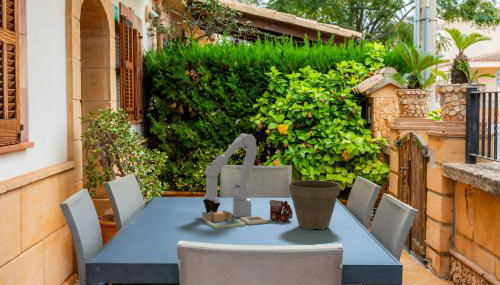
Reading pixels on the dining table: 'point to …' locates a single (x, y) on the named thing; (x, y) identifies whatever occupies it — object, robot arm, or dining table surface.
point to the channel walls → (207, 216)
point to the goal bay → (227, 225)
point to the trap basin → (254, 220)
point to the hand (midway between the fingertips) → (211, 214)
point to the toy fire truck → (280, 210)
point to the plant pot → (314, 202)
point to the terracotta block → (217, 216)
